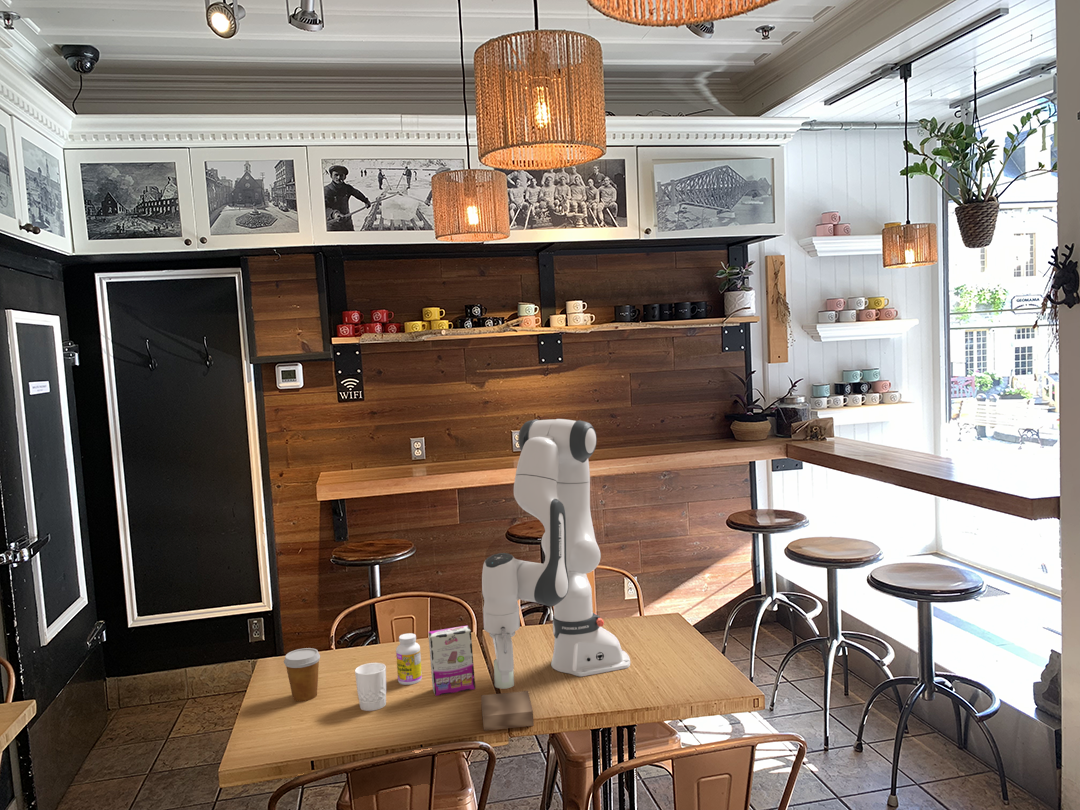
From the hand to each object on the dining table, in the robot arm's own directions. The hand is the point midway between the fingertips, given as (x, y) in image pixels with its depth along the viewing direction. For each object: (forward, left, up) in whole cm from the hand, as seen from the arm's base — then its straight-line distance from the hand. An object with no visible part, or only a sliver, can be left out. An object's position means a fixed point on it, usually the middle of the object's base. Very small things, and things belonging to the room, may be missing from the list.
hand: (504, 676), depth 200 cm
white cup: (+34, -15, -11) cm, 39 cm away
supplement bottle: (+25, -29, -11) cm, 40 cm away
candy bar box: (+13, -20, -11) cm, 26 cm away
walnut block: (0, 0, -11) cm, 11 cm away
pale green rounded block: (0, 0, -2) cm, 2 cm away
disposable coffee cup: (+53, -25, -11) cm, 60 cm away
